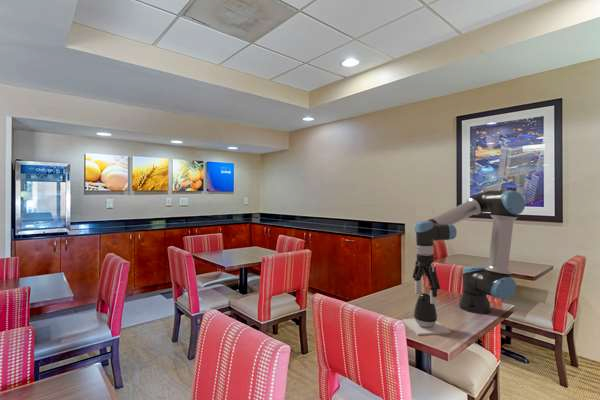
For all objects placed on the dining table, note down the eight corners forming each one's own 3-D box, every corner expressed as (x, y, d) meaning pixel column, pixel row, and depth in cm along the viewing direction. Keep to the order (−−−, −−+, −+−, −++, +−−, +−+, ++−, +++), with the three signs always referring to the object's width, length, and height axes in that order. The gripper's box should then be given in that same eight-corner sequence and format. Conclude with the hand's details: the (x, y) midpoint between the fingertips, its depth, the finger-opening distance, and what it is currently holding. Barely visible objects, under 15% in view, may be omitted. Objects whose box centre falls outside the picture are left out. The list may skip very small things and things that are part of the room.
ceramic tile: (431, 319, 160) (431, 317, 160) (450, 332, 144) (450, 331, 144) (401, 321, 158) (401, 319, 158) (417, 335, 142) (417, 333, 142)
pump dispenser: (410, 326, 150) (410, 294, 150) (418, 319, 158) (418, 288, 158) (433, 331, 143) (433, 298, 143) (439, 324, 151) (439, 292, 151)
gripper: (405, 249, 162) (405, 290, 162) (432, 259, 137) (432, 308, 138) (419, 248, 163) (419, 289, 163) (448, 258, 138) (448, 307, 139)
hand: (425, 298), depth 151 cm, fingers open, 13 cm apart
